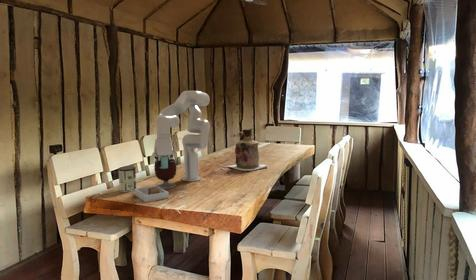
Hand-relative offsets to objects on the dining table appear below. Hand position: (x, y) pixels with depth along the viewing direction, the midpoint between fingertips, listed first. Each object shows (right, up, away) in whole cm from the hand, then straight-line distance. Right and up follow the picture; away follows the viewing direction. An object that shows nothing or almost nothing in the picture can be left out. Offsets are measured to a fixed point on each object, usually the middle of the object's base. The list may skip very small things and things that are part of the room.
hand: (163, 166), depth 223 cm
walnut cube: (-4, -17, -10) cm, 20 cm away
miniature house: (-24, -16, +8) cm, 29 cm away
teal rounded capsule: (0, -1, 0) cm, 1 cm away
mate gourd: (-2, -14, +17) cm, 22 cm away
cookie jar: (+52, -7, +73) cm, 90 cm away
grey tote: (-6, -17, -7) cm, 19 cm away
